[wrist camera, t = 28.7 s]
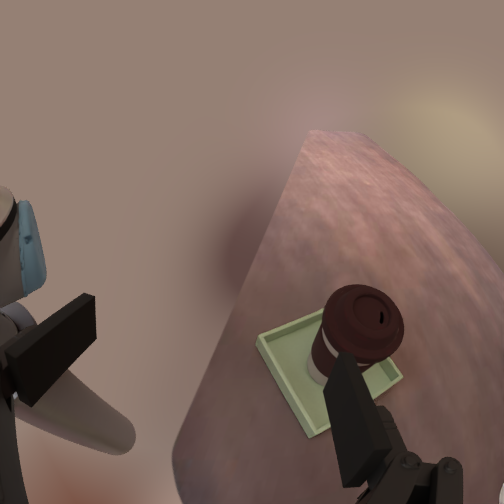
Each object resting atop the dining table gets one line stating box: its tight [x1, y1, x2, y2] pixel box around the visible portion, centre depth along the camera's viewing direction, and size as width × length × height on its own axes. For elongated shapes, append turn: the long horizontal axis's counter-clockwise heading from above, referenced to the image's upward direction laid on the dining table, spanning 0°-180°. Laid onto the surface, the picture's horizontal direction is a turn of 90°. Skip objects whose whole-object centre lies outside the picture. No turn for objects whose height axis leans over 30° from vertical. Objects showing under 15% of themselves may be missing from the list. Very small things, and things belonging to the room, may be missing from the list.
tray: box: [256, 308, 403, 439], centre depth 39 cm, size 16×16×3 cm
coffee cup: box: [307, 284, 404, 386], centre depth 34 cm, size 10×10×15 cm
